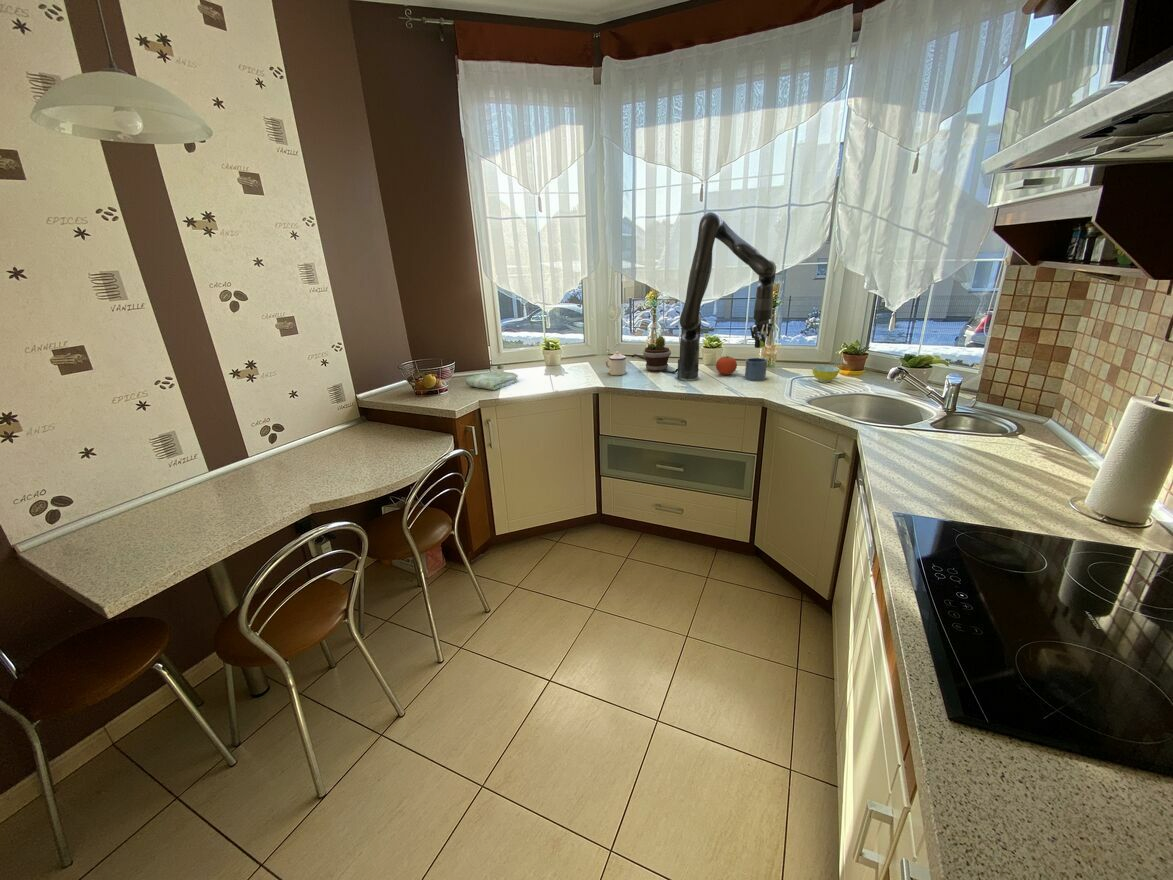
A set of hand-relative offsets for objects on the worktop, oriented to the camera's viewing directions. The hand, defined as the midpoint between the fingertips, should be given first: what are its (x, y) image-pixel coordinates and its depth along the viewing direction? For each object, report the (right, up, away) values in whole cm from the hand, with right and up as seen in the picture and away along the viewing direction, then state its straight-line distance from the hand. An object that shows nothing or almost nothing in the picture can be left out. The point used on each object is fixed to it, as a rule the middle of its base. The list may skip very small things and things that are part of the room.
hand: (759, 346), depth 218 cm
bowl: (+31, -15, +4) cm, 35 cm away
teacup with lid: (-64, -7, +37) cm, 74 cm away
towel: (-127, -14, +27) cm, 131 cm away
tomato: (-9, -10, +24) cm, 27 cm away
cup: (+3, -13, +14) cm, 19 cm away
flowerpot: (-41, -5, +40) cm, 58 cm away
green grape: (0, 0, 0) cm, 0 cm away
